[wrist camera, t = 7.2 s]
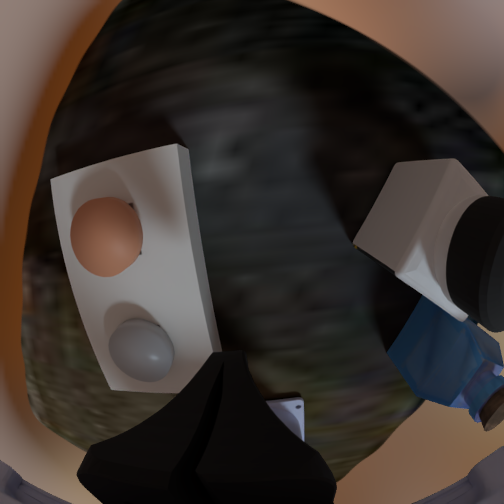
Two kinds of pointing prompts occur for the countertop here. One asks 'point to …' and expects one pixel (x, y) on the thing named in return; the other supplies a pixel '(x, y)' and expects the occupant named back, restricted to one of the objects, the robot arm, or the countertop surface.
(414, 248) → the medicine bottle
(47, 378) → the countertop surface
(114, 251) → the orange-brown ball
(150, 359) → the grey button
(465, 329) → the perfume bottle
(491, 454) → the robot arm
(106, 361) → the panel
